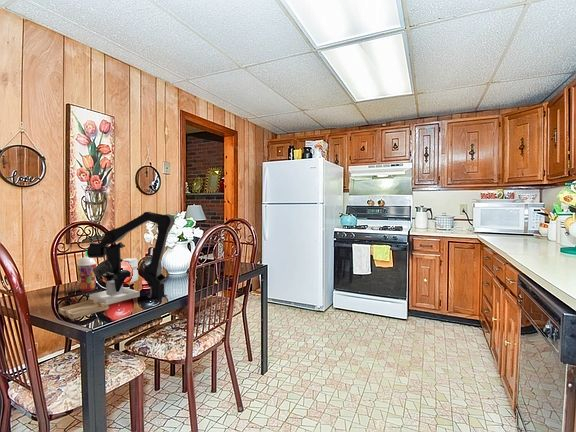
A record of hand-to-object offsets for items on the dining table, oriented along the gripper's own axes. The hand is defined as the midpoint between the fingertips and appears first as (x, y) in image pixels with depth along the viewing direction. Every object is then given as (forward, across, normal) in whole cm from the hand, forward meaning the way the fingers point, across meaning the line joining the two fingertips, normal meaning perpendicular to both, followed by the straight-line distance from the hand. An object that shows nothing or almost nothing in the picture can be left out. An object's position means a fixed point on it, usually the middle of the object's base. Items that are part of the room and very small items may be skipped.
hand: (114, 290), depth 147 cm
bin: (+4, 0, 0) cm, 4 cm away
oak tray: (+4, +7, -16) cm, 18 cm away
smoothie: (+4, -25, -1) cm, 25 cm away
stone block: (+2, 0, 0) cm, 2 cm away
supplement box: (+4, -25, +20) cm, 32 cm away
